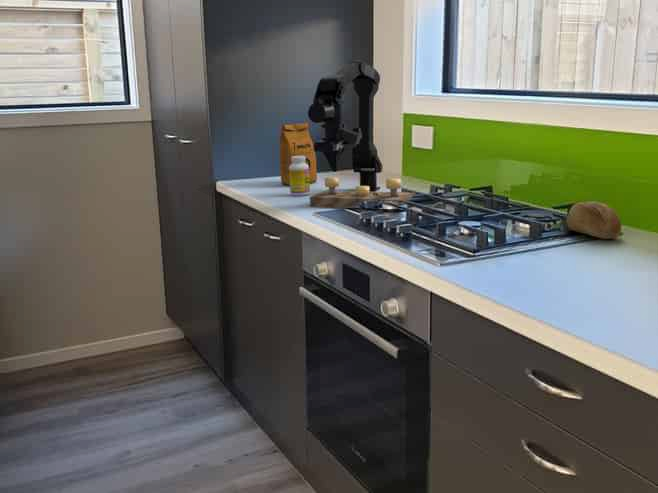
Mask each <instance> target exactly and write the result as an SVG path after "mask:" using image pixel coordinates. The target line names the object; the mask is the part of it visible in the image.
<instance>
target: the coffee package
mask: <svg viewBox="0 0 658 493" xmlns="http://www.w3.org/2000/svg"><path fill="white" fill-rule="evenodd" d="M308 128H309V122H304V123H297V124H282V125H281V128H280V136H279V144H278V150H279V167H280V168H279V170H280V179H281V182H280V183H281V184H282V185H287V186H290V176H289V166H290V165H291V164H292V160H291V157H293V156H305V159H306V160H305V163H306V164H307V165H308V166H309V181H310V184H315V183H317V180H318V174H317V158H316V157H317V156H316V151H313V145H314V143H313V141H312V138H311V136H310V132H309V129H308Z"/></svg>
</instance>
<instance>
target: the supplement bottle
mask: <svg viewBox="0 0 658 493" xmlns="http://www.w3.org/2000/svg"><path fill="white" fill-rule="evenodd" d="M291 160H292V164H291V165H290V166H289V176H290V185H289V191H290V195H291V196H292V197H293V196H294V197H304V196H309V195H310V193H311V183H310V181H309V166H308V165H307V164H306V163H305V160H306V159H305V156H293V157H291Z"/></svg>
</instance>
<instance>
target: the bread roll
mask: <svg viewBox="0 0 658 493" xmlns="http://www.w3.org/2000/svg"><path fill="white" fill-rule="evenodd" d="M566 225H567V227H568V228H569V229H570V230H571V231H573V232H577V233H581V234H584V235H588V236H591V237H595V238H599V239H603V240H611V239H615V238H618V236H619V235H620V234H621V231H622V222H621V219H620V217H619V215H618V213H617V212H616V210H615V209H613V208H612V207H611V206H609V205H608V204H606V203H603V202H599V201H595V200H594V201H585V202H584V201H580V202H578V203H575V204H573V205H572V206H571V208H570V209H569V212H568V214H567V217H566Z"/></svg>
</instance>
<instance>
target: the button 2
mask: <svg viewBox="0 0 658 493" xmlns="http://www.w3.org/2000/svg"><path fill="white" fill-rule="evenodd" d="M385 184H386V185H385V188H386V189H387V190H390V191H389V192H390V196H391V197H397V192H398V189H401V188H402V179H401V178H388V179H386V180H385Z"/></svg>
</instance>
